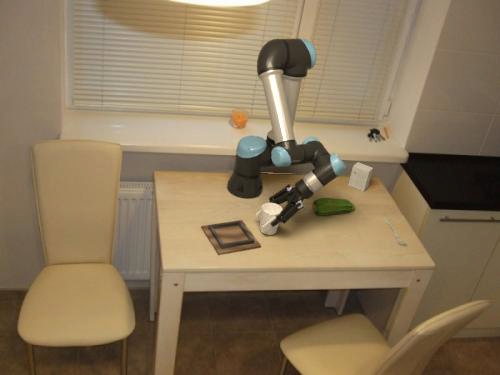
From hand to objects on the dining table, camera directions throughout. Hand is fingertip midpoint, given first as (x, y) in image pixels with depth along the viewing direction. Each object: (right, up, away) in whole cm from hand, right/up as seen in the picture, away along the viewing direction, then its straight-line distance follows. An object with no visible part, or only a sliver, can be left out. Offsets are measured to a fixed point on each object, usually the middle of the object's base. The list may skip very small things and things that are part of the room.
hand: (261, 222), depth 206 cm
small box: (+45, +14, +44) cm, 65 cm away
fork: (+54, -4, +17) cm, 57 cm away
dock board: (-11, -5, -4) cm, 13 cm away
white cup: (+3, -3, +3) cm, 5 cm away
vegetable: (+31, +3, +22) cm, 38 cm away
